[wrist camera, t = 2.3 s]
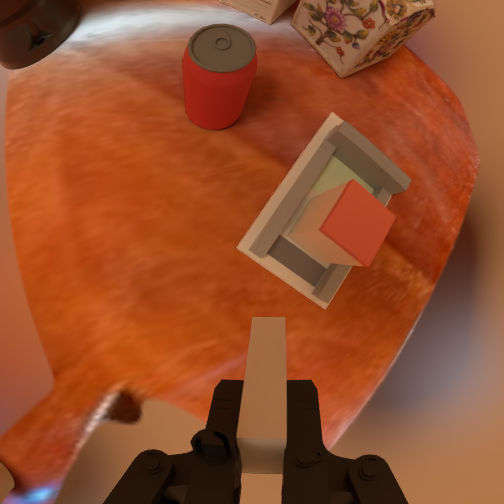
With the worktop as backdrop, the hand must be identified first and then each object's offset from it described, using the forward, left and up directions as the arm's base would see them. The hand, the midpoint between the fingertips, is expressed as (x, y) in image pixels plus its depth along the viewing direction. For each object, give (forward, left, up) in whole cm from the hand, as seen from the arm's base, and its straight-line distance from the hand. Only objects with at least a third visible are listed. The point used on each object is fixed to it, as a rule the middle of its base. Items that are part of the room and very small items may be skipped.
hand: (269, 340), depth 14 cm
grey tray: (-11, +9, -19) cm, 24 cm away
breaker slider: (-8, +8, -17) cm, 20 cm away
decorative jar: (-37, +9, -19) cm, 43 cm away
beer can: (-20, -6, -19) cm, 28 cm away
